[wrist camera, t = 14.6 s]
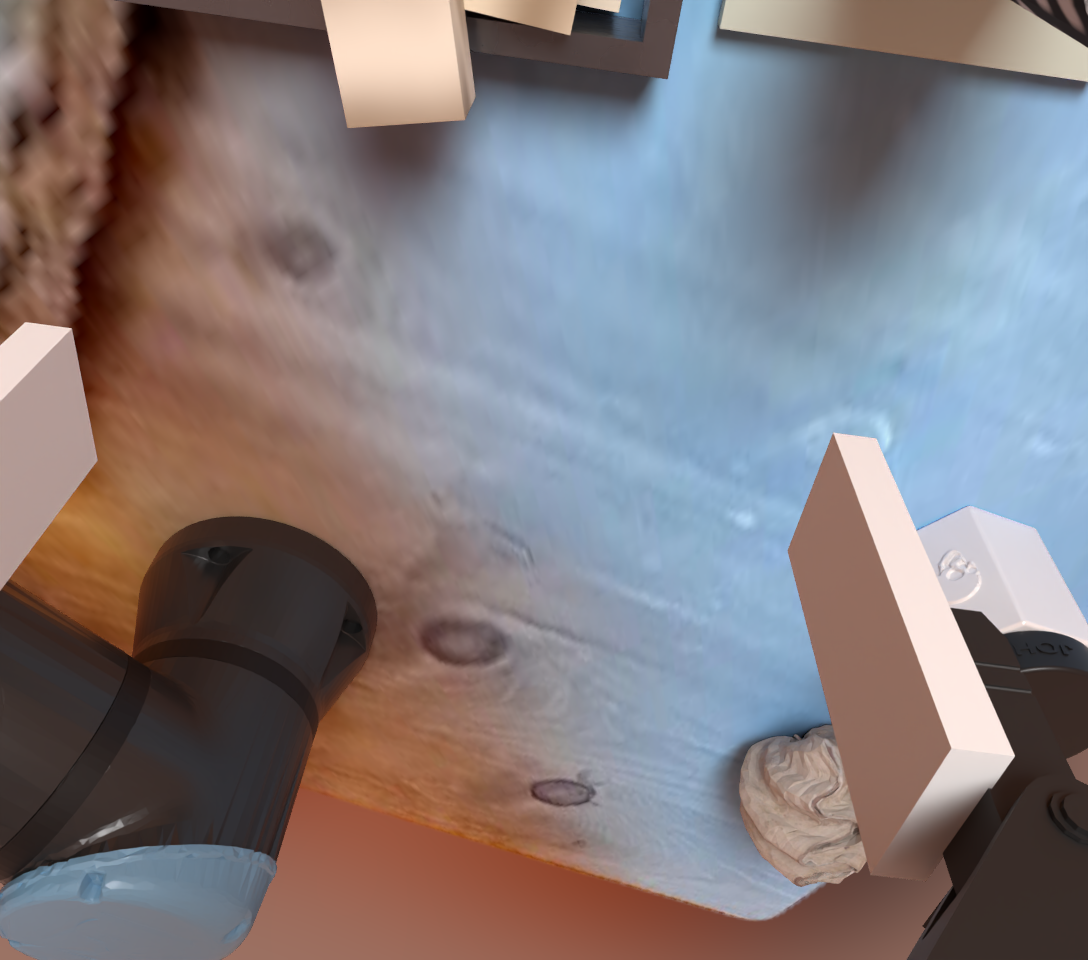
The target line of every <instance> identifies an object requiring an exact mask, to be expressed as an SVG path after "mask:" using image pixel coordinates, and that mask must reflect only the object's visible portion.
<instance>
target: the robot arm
mask: <svg viewBox="0 0 1088 960" xmlns="http://www.w3.org/2000/svg"><path fill="white" fill-rule="evenodd" d="M96 462H97V455H96V450H95V445H94V440H93V435H92V430H91V424H90V419H89V414H88V409H87V404H86V399H85V394H84V389H83V384H82V379H81V373H80V368H79V363H78V358H77V353H76V348H75V343H74V338H73V333H72V329H71V328H64V327H57V326H49V325H42V324H35V323H27V322H25V323H24V324H23V325H22V326H21V327H20V328H19V329H18V330H17V331H16V332H14V333H13V334H12V335H11V336H10V337H9V338H8V339H7V340H6V341H5V342H4V343H3V344H2V345H0V883H2V884H3V885H4V887H2V889H1V890H0V936H1V937H2V938H6V939H8V941H9V943H10V945H11V946H12V947H13V948H15V949H16V950H18V951H20V952H22V953H23V954H26V955H27V956H30V957H33V958H35V959H37V960H222V959H223V958H225V957H227V956H228V955H229V954H231V953H232V952H233V951H234V950H235V949H237V948H238V947H239V946H240V945H241V943H242V942H243V941H244V940H245V938H246V937H247V935H248V933H249V932H250V930H251V928H252V926H253V923H254V921H255V918H256V916H257V913H258V911H259V908H260V906H261V903H262V901H263V898H264V896H265V893H266V891H267V888H268V886H269V884H270V883H271V881H272V879H273V878H274V877H275V873H276V870H277V866H276V861H277V858H278V855H279V851H280V848H281V845H282V841H283V838H284V835H285V831H286V828H287V825H288V822H289V819H290V815H291V812H292V808H293V805H294V802H295V799H296V796H297V792H298V789H299V786H300V783H301V779H302V776H303V773H304V770H305V766H306V763H307V760H308V756H309V753H310V750H311V746H312V743H313V740H314V737H315V734H316V731H317V727H318V724H319V722H320V721H321V719H322V718H323V717H324V716H325V714H326V713H327V712H328V711H329V709H330V708H331V707H332V705H333V704H334V703H335V702H336V700H337V699H338V698H339V697H340V695H341V694H342V693H343V691H344V690H345V689H346V688H347V686H348V685H349V684H350V683H351V681H352V680H353V679H354V677H355V676H356V675H357V674H358V672H359V671H360V669H361V668H362V666H363V665H364V663H365V661H366V658H367V656H368V654H369V650H370V647H371V644H372V640H373V637H374V633H375V630H376V625H377V610H376V604H375V600H374V597H373V594H372V592H371V590H370V588H369V586H368V584H367V582H366V581H365V579H364V578H363V576H362V575H361V574H360V572H359V571H358V570H357V569H356V568H355V566H354V565H353V564H352V563H351V562H350V561H349V560H348V559H347V558H345V557H344V556H343V555H342V554H341V553H340V552H338V551H337V550H336V549H334V548H333V547H331V546H330V545H328V544H327V543H325V542H324V541H322V540H320V539H319V538H317V537H315V536H313V535H311V534H309V533H307V532H304V531H302V530H300V529H297V528H295V527H292V526H289V525H286V524H282V523H279V522H275V521H271V520H266V519H260V518H252V517H221V518H214V519H209V520H205V521H201V522H198V523H195V524H192V525H190V526H187V527H185V528H184V529H182V530H180V531H178V532H177V533H175V534H174V535H173V536H172V537H170V538H169V539H168V540H167V541H166V542H165V543H164V544H163V546H162V547H161V548H160V550H159V552H158V553H157V555H156V557H155V558H154V560H153V562H152V564H151V565H150V567H149V569H148V570H147V572H146V574H145V576H144V579H143V582H142V585H141V588H140V593H139V602H138V610H137V619H136V628H135V636H134V645H133V653H132V657H131V656H129V655H128V654H126V653H125V652H124V651H122V650H120V649H119V648H117V647H116V646H114V645H112V644H111V643H109V642H108V641H106V640H104V639H103V638H101V637H100V636H98V635H96V634H95V633H93V632H92V631H90V630H88V629H87V628H85V627H84V626H82V625H80V624H79V623H77V622H76V621H74V620H72V619H71V618H69V617H68V616H66V615H64V614H63V613H61V612H60V611H58V610H57V609H55V608H54V607H52V606H51V605H49V604H48V603H46V602H44V601H43V600H41V599H40V598H38V597H37V596H35V595H34V594H32V593H31V592H29V591H27V590H26V589H24V588H23V587H21V586H20V585H18V584H17V583H15V582H14V581H12V580H10V579H9V578H10V577H11V576H12V574H13V573H14V572H15V570H16V569H17V568H18V566H19V565H20V564H21V562H22V561H23V560H24V558H25V557H26V556H27V554H28V553H29V552H30V550H31V549H32V548H33V546H34V545H35V543H36V542H37V541H38V539H39V538H40V537H41V535H42V534H43V533H44V531H45V530H46V529H47V527H48V526H49V525H50V523H51V522H52V521H53V519H54V518H55V517H56V515H57V514H58V513H59V511H60V510H61V509H62V507H63V506H64V505H65V503H66V502H67V501H68V499H69V498H70V497H71V495H72V494H73V493H74V491H75V490H76V489H77V487H78V486H79V485H80V483H81V482H82V481H83V479H84V478H85V476H86V475H87V474H88V472H89V471H90V470H91V468H92V467H93V466H94V464H95V463H96ZM788 554H789V558H790V562H791V566H792V569H793V573H794V577H795V581H796V585H797V589H798V593H799V597H800V601H801V605H802V609H803V612H804V616H805V620H806V624H807V628H808V632H809V636H810V640H811V644H812V648H813V652H814V656H815V659H816V663H817V667H818V671H819V675H820V679H821V683H822V687H823V691H824V695H825V699H826V702H827V706H828V710H829V714H830V718H831V722H832V726H833V730H834V734H835V738H836V742H837V745H838V749H839V753H840V757H841V761H842V765H843V769H844V773H845V777H846V781H847V785H848V789H849V792H850V796H851V800H852V804H853V808H854V812H855V816H856V820H857V824H858V828H859V832H860V835H861V839H862V843H863V847H864V851H865V855H866V859H867V863H868V867H869V870H870V874H871V875H875V876H885V877H893V878H901V879H910V880H919V881H927V879H928V878H929V876H930V875H931V874H932V872H933V871H934V869H935V868H936V866H937V865H938V864H939V862H940V861H941V859H942V858H943V857H944V859H945V862H946V865H947V868H948V871H949V874H950V877H951V880H952V883H953V886H952V887H951V889H950V890H949V891H948V893H947V894H946V895H945V897H944V898H943V899H942V901H941V902H940V903H939V905H938V906H937V907H936V909H935V910H934V911H933V913H932V914H931V915H930V917H929V918H928V920H927V921H926V922H925V923H924V925H923V927H924V928H925V930H924V932H923V933H922V935H921V937H920V938H919V940H918V942H917V943H916V945H915V947H914V948H913V950H912V952H911V953H910V955H909V957H908V959H907V960H1088V785H1086V784H1084V783H1082V782H1080V781H1078V780H1076V779H1075V777H1074V775H1073V773H1072V771H1071V769H1070V766H1069V764H1068V763H1067V761H1066V758H1065V756H1064V754H1063V752H1062V750H1061V748H1060V746H1059V744H1058V742H1057V740H1056V738H1055V736H1054V734H1053V732H1052V730H1051V728H1050V726H1049V724H1048V721H1047V719H1046V717H1045V715H1044V713H1043V711H1042V709H1041V707H1040V705H1039V703H1038V701H1037V699H1036V697H1035V696H1034V695H1032V694H1031V691H1032V689H1031V687H1030V685H1029V683H1028V681H1027V679H1026V676H1025V674H1024V672H1020V667H1021V666H1020V664H1019V662H1018V660H1017V658H1016V656H1015V654H1014V652H1013V650H1012V648H1011V646H1010V644H1009V642H1008V640H1007V638H1006V637H1005V636H1004V635H1003V634H1002V633H1001V632H1000V631H999V630H998V629H997V627H996V626H995V625H994V624H993V623H992V622H991V621H990V620H989V619H988V618H987V617H986V616H985V615H984V614H983V613H982V612H980V611H973V610H965V609H957V608H950V606H949V604H948V602H947V599H946V597H945V595H944V593H943V590H942V588H941V586H940V583H939V581H938V579H937V577H936V574H935V572H934V570H933V567H932V565H931V563H930V561H929V558H928V556H927V554H926V551H925V549H924V547H923V545H922V542H921V540H920V538H919V535H918V533H917V531H916V529H915V526H914V524H913V522H912V519H911V517H910V515H909V513H908V510H907V508H906V506H905V503H904V501H903V499H902V497H901V494H900V492H899V490H898V487H897V485H896V483H895V481H894V478H893V476H892V474H891V471H890V469H889V467H888V465H887V462H886V460H885V458H884V455H883V453H882V451H881V449H880V446H879V444H878V442H877V439H876V438H868V437H861V436H854V435H846V434H839V433H833V435H832V437H831V440H830V443H829V445H828V448H827V450H826V453H825V456H824V458H823V461H822V463H821V466H820V468H819V471H818V474H817V476H816V479H815V481H814V484H813V487H812V489H811V492H810V494H809V497H808V499H807V502H806V505H805V507H804V510H803V512H802V515H801V517H800V520H799V523H798V525H797V528H796V530H795V533H794V536H793V538H792V541H791V543H790V546H789V548H788Z"/></svg>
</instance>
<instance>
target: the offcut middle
mask: <svg viewBox="0 0 1088 960" xmlns="http://www.w3.org/2000/svg"><path fill="white" fill-rule="evenodd" d="M577 1H578V0H464V8H465V10H469V11H473V12H477V13H481V14H485V15H489V16H493V17H497V18H502V19H506V20H510V21H514V22H518V23H522V24H526V25H530V26H534V27H538V28H542V29H546V30H550V31H554V32H558V33H562V34H567V35H570V34H571V29H572V25H573V20H574V15H575V11H576V6H577Z"/></svg>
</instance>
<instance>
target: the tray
mask: <svg viewBox="0 0 1088 960" xmlns="http://www.w3.org/2000/svg"><path fill="white" fill-rule="evenodd" d="M116 1H123V2H130V3H137V4H144V5H151V6H158V7H165V8H172V9H179V10H186V11H193V12H200V13H207V14H214V15H221V16H228V17H235V18H242V19H249V20H256V21H263V22H270V23H277V24H284V25H291V26H298V27H305V28H312V29H319V30H326V31H327V27H326V22H325V17H324V13H323V8H322V3H321V0H116ZM682 1H683V0H645V1H644V7H643V13H642V19H641V20H639V19H632V18H625V17H618V16H611V15H604V14H597V13H590V12H583V11H575V15H574V20H573V25H572V29H571V34H570V35H567V34H562V33H558V32H554V31H550V30H546V29H542V28H538V27H534V26H530V25H526V24H522V23H518V22H514V21H510V20H506V19H502V18H497V17H493V16H489V15H485V14H481V13H477V12H473V11H469V10H465V16H466V24H467V32H468V40H469V48H470V51H474V52H481V53H488V54H495V55H502V56H509V57H516V58H523V59H530V60H537V61H544V62H551V63H558V64H565V65H572V66H579V67H586V68H593V69H600V70H607V71H614V72H621V73H628V74H635V75H642V76H649V77H656V78H663V79H668V74H669V69H670V64H671V59H672V53H673V48H674V43H675V37H676V32H677V27H678V22H679V16H680V11H681V6H682Z"/></svg>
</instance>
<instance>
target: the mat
mask: <svg viewBox="0 0 1088 960" xmlns="http://www.w3.org/2000/svg"><path fill="white" fill-rule="evenodd" d="M718 25H719V28H720V29H726V30H733V31H740V32H747V33H754V34H761V35H768V36H774V37H781V38H788V39H795V40H802V41H809V42H816V43H823V44H830V45H837V46H844V47H851V48H858V49H865V50H872V51H879V52H886V53H892V54H899V55H906V56H913V57H920V58H927V59H934V60H941V61H948V62H955V63H962V64H969V65H976V66H983V67H990V68H997V69H1004V70H1011V71H1017V72H1024V73H1031V74H1038V75H1045V76H1052V77H1059V78H1066V79H1073V80H1080V81H1087V82H1088V48H1087V47H1086V46H1084V45H1082V44H1081V43H1079V42H1077V41H1076V40H1074V39H1073V38H1071V37H1069V36H1068V35H1066V34H1065V33H1063V32H1061V31H1060V30H1058V29H1056V28H1055V27H1053V26H1052V25H1050V24H1048V23H1047V22H1045V21H1044V20H1042V19H1040V18H1039V17H1037V16H1035V15H1034V14H1032V13H1031V12H1029V11H1027V10H1026V9H1024V8H1022V7H1021V6H1019V5H1018V4H1016V3H1014V2H1013V1H1011V0H723V1H722V5H721V10H720V15H719V19H718Z"/></svg>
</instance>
